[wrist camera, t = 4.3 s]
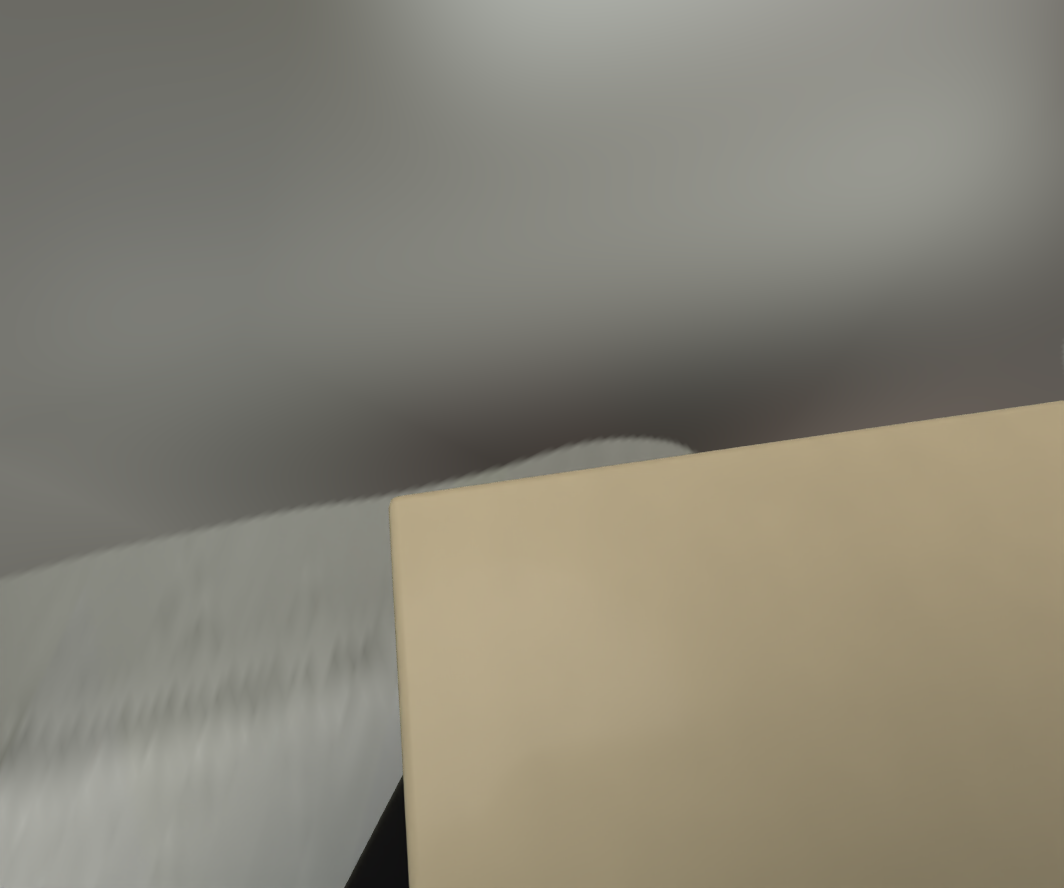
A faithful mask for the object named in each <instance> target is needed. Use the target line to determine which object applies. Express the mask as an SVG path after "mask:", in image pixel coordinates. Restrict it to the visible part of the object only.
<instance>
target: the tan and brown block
mask: <svg viewBox="0 0 1064 888" xmlns="http://www.w3.org/2000/svg"><path fill="white" fill-rule="evenodd" d="M389 524H390V542H391V561H392V579H393V597H394V616H395V634H396V653H397V671H398V690H399V708H400V726H401V745H402V763H403V782H404V800H405V818H406V837H407V855H408V874H409V888H1064V400H1063V401H1056V402H1049V403H1042V404H1035V405H1028V406H1021V407H1014V408H1008V409H1000V410H993V411H986V412H980V413H973V414H966V415H959V416H953V417H945V418H939V419H931V420H924V421H917V422H910V423H903V424H896V425H890V426H883V427H876V428H869V429H862V430H855V431H848V432H841V433H834V434H827V435H820V436H813V437H806V438H799V439H793V440H785V441H779V442H772V443H765V444H758V445H751V446H744V447H737V448H730V449H724V450H716V451H710V452H703V453H695V454H688V455H681V456H675V457H668V458H661V459H654V460H647V461H640V462H633V463H626V464H619V465H612V466H605V467H598V468H591V469H584V470H577V471H571V472H564V473H557V474H550V475H543V476H536V477H529V478H522V479H515V480H508V481H501V482H494V483H487V484H480V485H473V486H467V487H460V488H453V489H446V490H439V491H432V492H425V493H418V494H411V495H404V496H398V497H395V498H393V499H392V500H391V503H390V505H389Z"/></svg>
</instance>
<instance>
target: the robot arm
mask: <svg viewBox="0 0 1064 888" xmlns="http://www.w3.org/2000/svg"><path fill="white" fill-rule="evenodd" d="M344 888H409V874H408V855H407V837H406V818H405V800H404V782H403V775H402V777H401V779H400V781H399V783H398V785H397V787H396V789H395V791H394V793H393V795H392V797H391V799H390V801H389V802H388V804H387V806H386V808H385V810H384V812H383V814H382V816H381V818H380V820H379V822H378V824H377V826H376V828H375V829H374V831H373V833H372V835H371V837H370V839H369V841H368V843H367V845H366V847H365V849H364V851H363V853H362V855H361V856H360V858H359V860H358V862H357V864H356V866H355V868H354V870H353V872H352V874H351V876H350V878H349V880H348V882H347V883H346V885H345V887H344Z"/></svg>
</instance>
